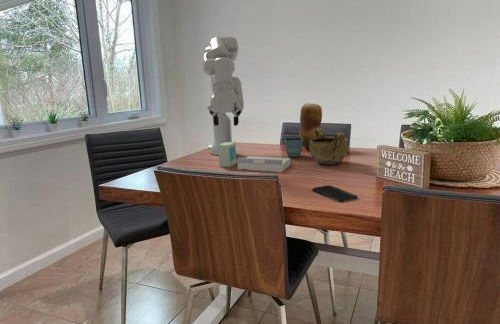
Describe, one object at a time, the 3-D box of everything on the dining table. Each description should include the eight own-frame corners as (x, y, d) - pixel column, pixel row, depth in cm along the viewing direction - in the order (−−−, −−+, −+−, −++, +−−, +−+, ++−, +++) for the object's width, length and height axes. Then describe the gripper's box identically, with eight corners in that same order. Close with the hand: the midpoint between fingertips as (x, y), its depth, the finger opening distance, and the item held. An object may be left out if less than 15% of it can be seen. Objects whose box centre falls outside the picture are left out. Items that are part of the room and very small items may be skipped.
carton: (219, 166, 165) (218, 145, 162) (226, 162, 172) (225, 142, 170) (229, 167, 163) (228, 145, 161) (236, 163, 170) (235, 142, 168)
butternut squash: (327, 150, 194) (327, 103, 188) (304, 152, 191) (304, 104, 185) (315, 146, 207) (316, 102, 202) (294, 148, 204) (293, 103, 198)
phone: (329, 185, 127) (358, 196, 114) (329, 188, 128) (358, 199, 114) (310, 188, 124) (339, 200, 111) (310, 191, 124) (339, 203, 111)
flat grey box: (237, 169, 158) (237, 158, 157) (249, 162, 171) (249, 152, 170) (281, 172, 151) (281, 160, 150) (290, 164, 164) (290, 153, 163)
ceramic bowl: (358, 167, 155) (359, 132, 152) (322, 170, 151) (322, 135, 148) (333, 157, 176) (333, 126, 173) (301, 160, 172) (301, 128, 169)
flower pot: (302, 154, 185) (302, 137, 183) (303, 158, 176) (303, 140, 174) (285, 154, 186) (284, 137, 184) (285, 158, 177) (284, 140, 175)
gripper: (202, 87, 159) (205, 126, 163) (239, 86, 153) (240, 126, 156) (210, 87, 166) (212, 124, 169) (245, 86, 160) (246, 124, 163)
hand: (226, 125), depth 163 cm, fingers open, 9 cm apart
